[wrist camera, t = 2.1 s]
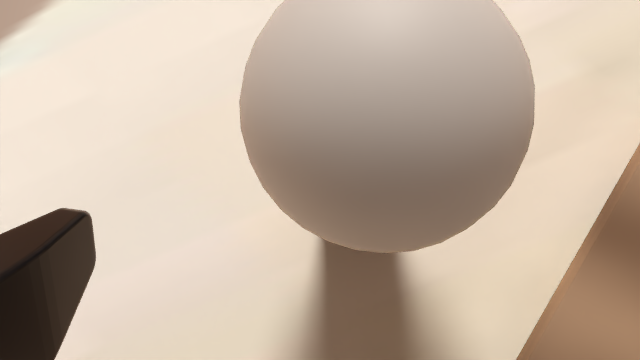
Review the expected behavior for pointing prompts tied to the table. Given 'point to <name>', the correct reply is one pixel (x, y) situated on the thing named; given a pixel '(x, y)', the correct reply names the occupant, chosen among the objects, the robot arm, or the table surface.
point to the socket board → (598, 287)
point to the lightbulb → (387, 117)
